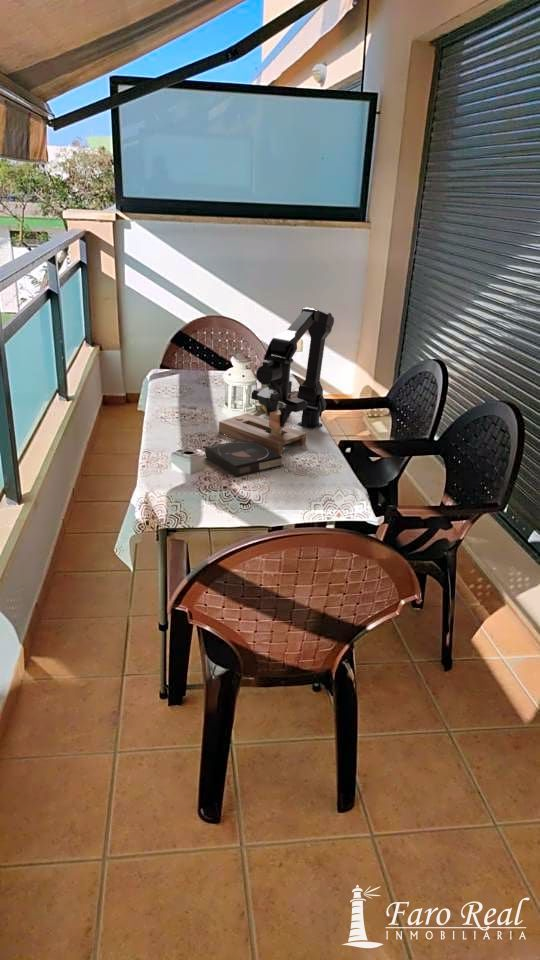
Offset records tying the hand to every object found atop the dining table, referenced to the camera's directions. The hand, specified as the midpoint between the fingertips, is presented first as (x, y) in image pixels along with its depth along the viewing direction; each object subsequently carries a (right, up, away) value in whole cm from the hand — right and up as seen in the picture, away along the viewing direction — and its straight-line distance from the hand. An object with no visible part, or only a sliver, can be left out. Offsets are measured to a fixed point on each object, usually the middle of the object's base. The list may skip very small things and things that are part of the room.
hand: (276, 425), depth 217 cm
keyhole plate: (-5, -4, +6) cm, 9 cm away
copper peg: (0, -5, +2) cm, 6 cm away
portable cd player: (-10, -13, -14) cm, 22 cm away
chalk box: (-1, +8, +35) cm, 36 cm away
